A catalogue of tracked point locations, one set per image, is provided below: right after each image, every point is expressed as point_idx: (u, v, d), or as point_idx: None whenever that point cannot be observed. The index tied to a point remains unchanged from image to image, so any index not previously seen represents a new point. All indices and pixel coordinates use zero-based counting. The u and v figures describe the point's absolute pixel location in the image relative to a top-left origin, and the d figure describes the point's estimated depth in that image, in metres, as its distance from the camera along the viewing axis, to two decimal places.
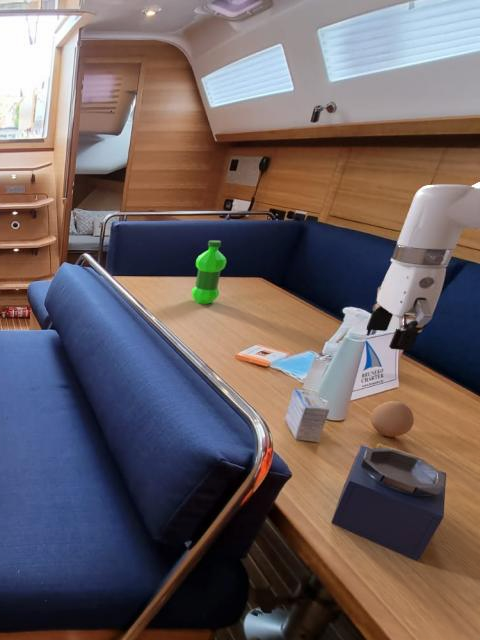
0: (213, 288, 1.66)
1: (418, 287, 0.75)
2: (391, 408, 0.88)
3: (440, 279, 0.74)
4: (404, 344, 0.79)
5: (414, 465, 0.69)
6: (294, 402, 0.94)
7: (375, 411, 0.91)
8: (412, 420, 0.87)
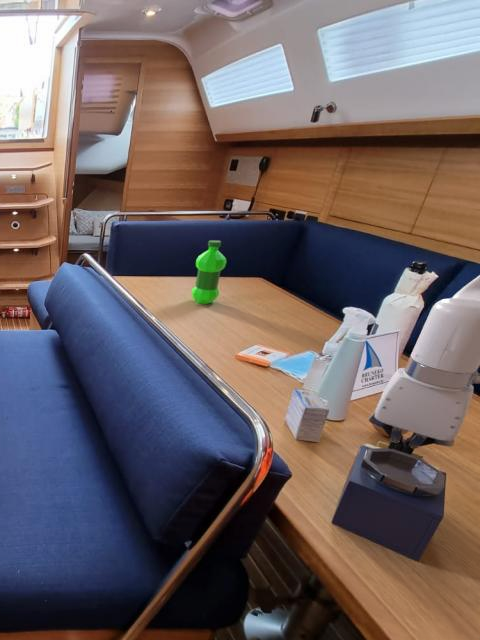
0: (213, 288, 1.66)
1: (467, 410, 0.67)
2: None
3: None
4: None
5: (414, 465, 0.69)
6: (294, 402, 0.94)
7: None
8: None
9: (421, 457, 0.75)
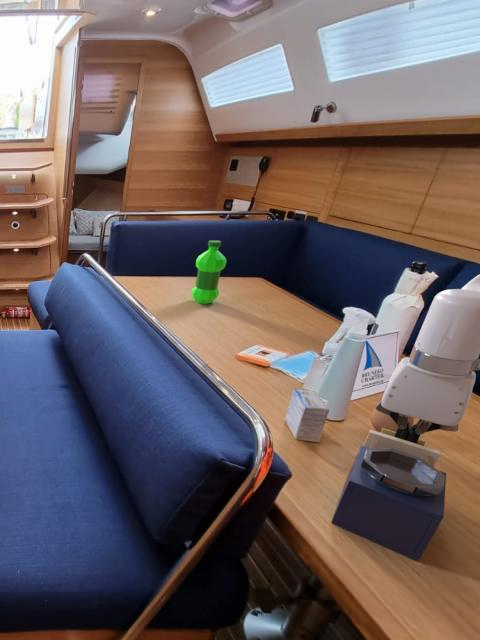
0: (213, 288, 1.66)
1: (470, 396, 0.70)
2: None
3: None
4: (416, 442, 0.78)
5: (414, 465, 0.69)
6: (294, 402, 0.94)
7: (375, 411, 0.91)
8: (412, 420, 0.87)
9: (423, 443, 0.79)
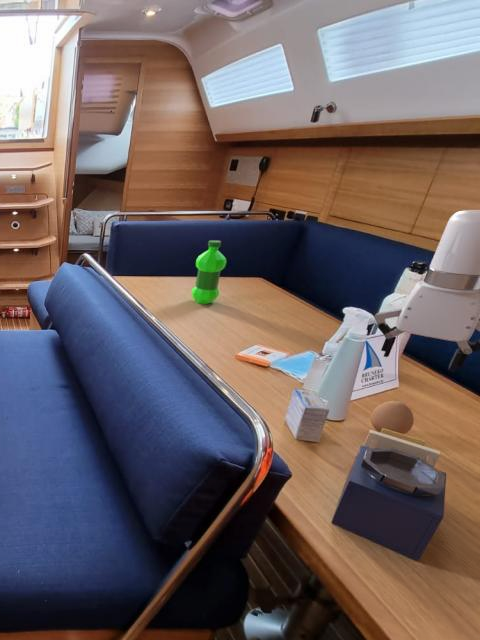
0: (213, 288, 1.66)
1: None
2: (391, 408, 0.88)
3: None
4: None
5: (414, 465, 0.69)
6: (294, 402, 0.94)
7: (375, 411, 0.91)
8: (412, 420, 0.87)
9: (423, 443, 0.79)
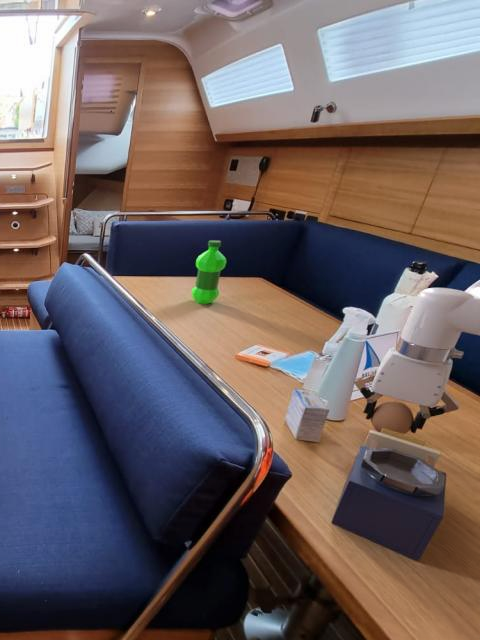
0: (213, 288, 1.66)
1: (447, 380, 0.81)
2: (391, 408, 0.88)
3: None
4: None
5: (414, 465, 0.69)
6: (294, 402, 0.94)
7: (375, 411, 0.91)
8: (412, 420, 0.87)
9: (423, 443, 0.79)
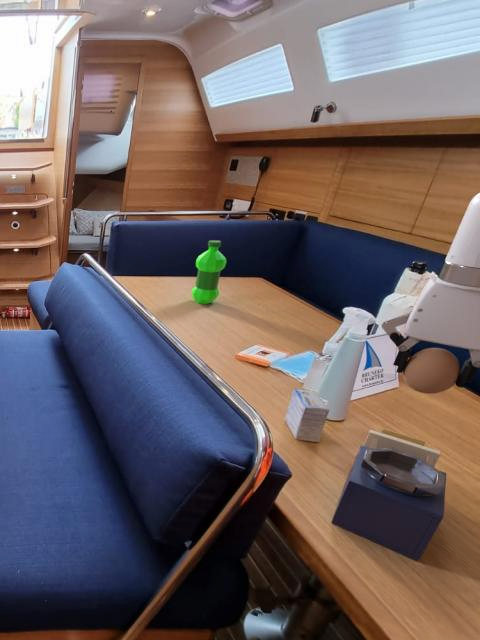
0: (213, 288, 1.66)
1: None
2: (431, 355, 0.69)
3: None
4: None
5: (414, 465, 0.69)
6: (294, 402, 0.94)
7: (409, 362, 0.72)
8: (458, 371, 0.68)
9: (423, 443, 0.79)
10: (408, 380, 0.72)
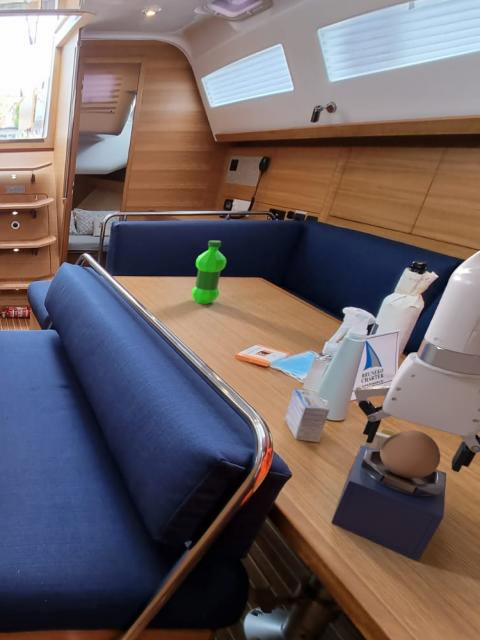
0: (213, 288, 1.66)
1: None
2: (409, 440, 0.64)
3: None
4: None
5: None
6: (294, 402, 0.94)
7: (386, 443, 0.67)
8: (438, 457, 0.63)
9: None
10: (386, 463, 0.67)
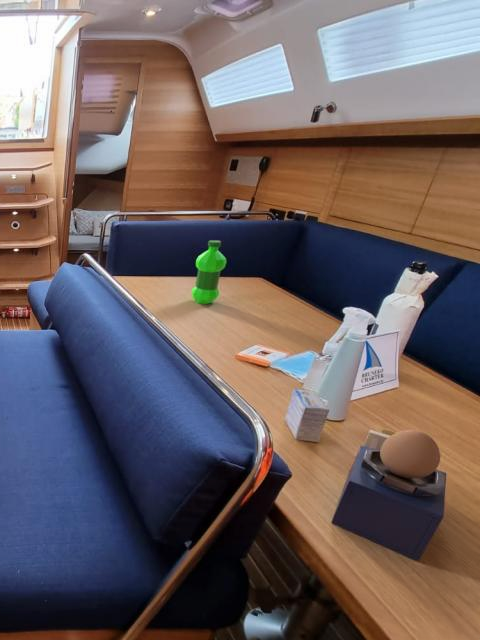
0: (213, 288, 1.66)
1: None
2: (409, 440, 0.64)
3: None
4: None
5: None
6: (294, 402, 0.94)
7: (386, 443, 0.67)
8: (438, 457, 0.63)
9: None
10: (386, 463, 0.67)
